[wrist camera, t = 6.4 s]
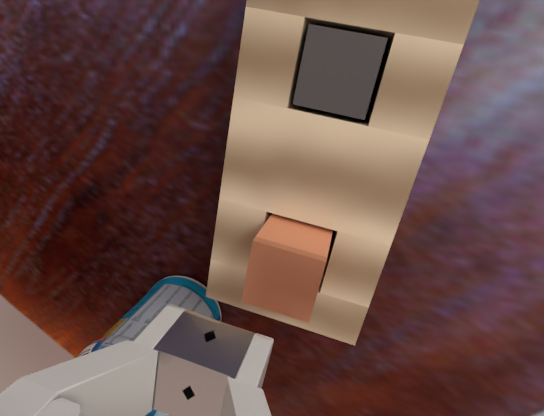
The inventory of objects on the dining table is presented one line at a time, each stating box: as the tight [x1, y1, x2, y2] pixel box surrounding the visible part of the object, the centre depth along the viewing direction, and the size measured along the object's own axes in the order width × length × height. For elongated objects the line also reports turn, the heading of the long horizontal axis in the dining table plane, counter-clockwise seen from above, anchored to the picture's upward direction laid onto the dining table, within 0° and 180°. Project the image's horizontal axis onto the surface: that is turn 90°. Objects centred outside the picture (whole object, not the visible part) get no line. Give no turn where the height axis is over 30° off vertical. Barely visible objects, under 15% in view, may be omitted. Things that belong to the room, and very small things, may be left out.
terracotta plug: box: [241, 213, 333, 323], centre depth 23 cm, size 4×4×6 cm
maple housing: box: [206, 0, 480, 345], centre depth 25 cm, size 24×12×6 cm, turn 169°
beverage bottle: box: [78, 276, 221, 416], centre depth 27 cm, size 8×8×20 cm
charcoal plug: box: [293, 24, 388, 120], centre depth 22 cm, size 4×4×6 cm
